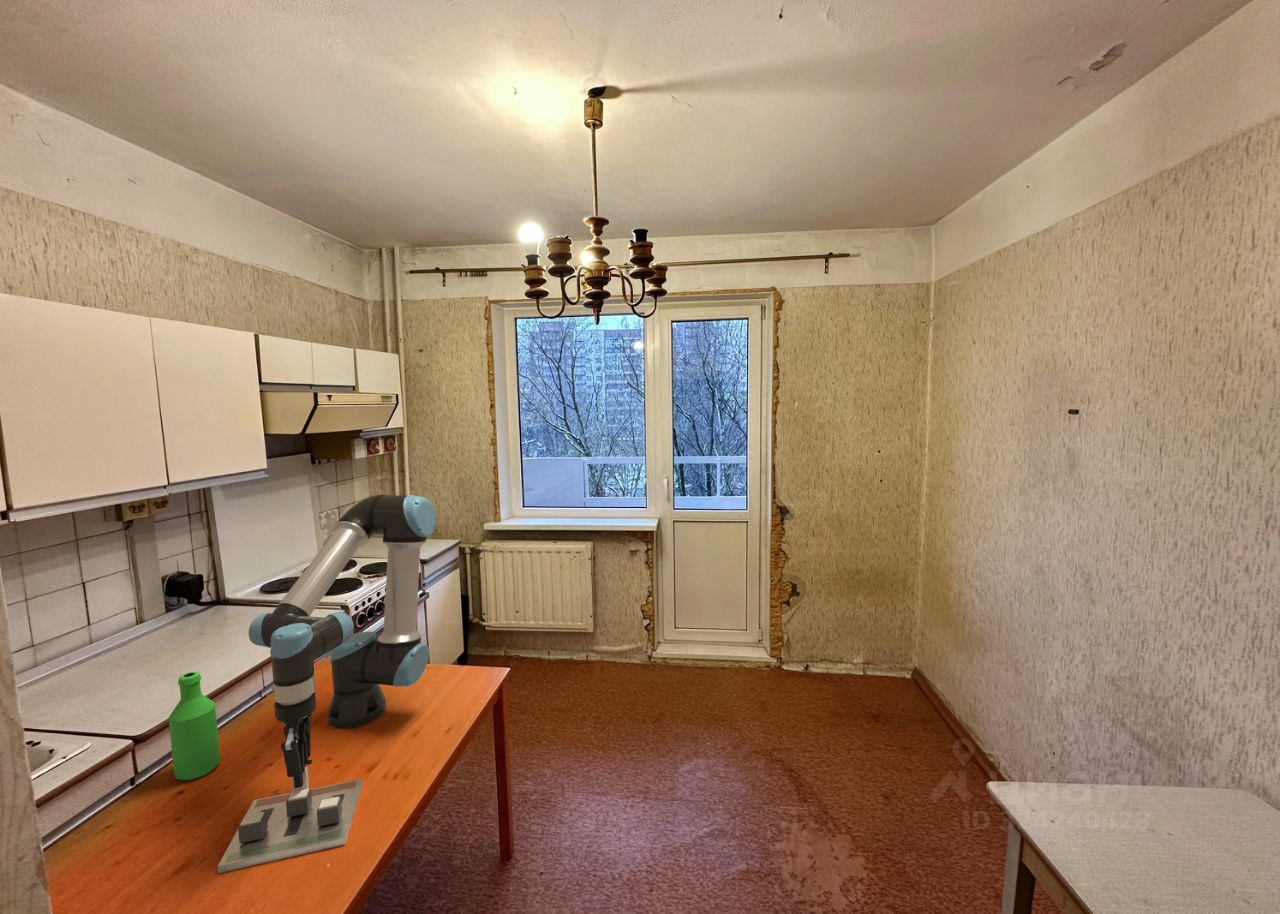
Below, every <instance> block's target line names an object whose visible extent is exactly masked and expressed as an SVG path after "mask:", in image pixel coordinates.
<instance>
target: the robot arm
mask: <svg viewBox="0 0 1280 914" xmlns="http://www.w3.org/2000/svg"><path fill="white" fill-rule="evenodd" d="M436 519H437V518H436V512H435V508H434V506H433V504H432V502H431V501H430V500H429V499H428V498H426V497H423V496H421V495H412V494H410V495H405V494H404V495H399V494H396V495H395V494H392V495H390V494H373V495H371V496H368V497H365V498H364V499H362V500H360V501H359V502H356V503H355V504H354V505H353V506H351V507H350V508H349V509H348V510H347V511H345V513H344V514H342V516H341V517H340V518H339V519H338V521H337V522H336V523H335V525H334V527H333V529H334V530H333V531H334V532H333V533H332V535H331V536H330V537H329V538H328V540H327V541H326V542H325V543H324V545H323V546H322V548H321V549H320V550H319V551H318V553H317V554H316V556H314V558H313V559H312V560H311V562H310V563H309V564H308V566H307V567H306V568H305V570H304V571H303V572H302V573H301V575H300V576H299V577H298V579H297V580H296V581H295V583H294V584H293V585H292V586H291V587H290V589H289V590H288V591H287V593H286V594H285V596H284V597H283V598H282V599H281V601H280V602H279V603H278V605H277V606H276V607H275V609H274V610H273V611H272V612H267V613H261V614H259V615H258V616H256V617H255V618H253V620H252V621H251V623H250V625H249V627H248V638H249V640H250V642H251V643H252V644H254V645H255V646H260V647H264V648H268V649H269V648H270V651H269V653H270V658H271V669H272V670H271V671H272V683H273V684H272V685H271V687H270V689H271V690H273V695H274V696H273V697H274V701H275V702H274V714H275V715H274V717H275V719H276V721H278V722H281V723H284V724H285V726H284V727H283V734H284V736H285V742H284V741H283V742H281V744H280V749H281V751H282V753H283V759H284V763H285V764H284V765H285V770H286V776H287V778H291V779H292V780H291V783H292V785H291V786H292V791H298V790H303V789H308V788H309V789H310V784H309V783H310V782H309V780H310V779H309V767H308V765H312V763H313V759H309V758H310V757H311V739H312V737H311V736H312V733H311V731H312V727H311V726H312V715H313V713H314V712H315V710H316V709H317V699H316V697H317V696H316V692H315V691H316V680H315V663H314V662H315V661H316V660H318V659H320V657H322V656H324V655H326V654H328V653H329V652H331V656H330V662H331V663H330V665H331V677H332V686H333V687H332V688H333V689H332V690H333V691H332V692H333V694H332V697H331V700H330V703H329V707H328V711H327V721H328V724H329V725H330V726H331V727H333V728H338V729H349V728H350V729H351V728H355V727H360V726H363V725H366V724H369V723H371V722H372V721H374V720H376V719H378V718H379V717H381V715H383V714H384V713H385V711H386V710H387V709H386V708H387V699H386V696H385V694H384V692H383V690H382V687H381V685H382V686H392V687H395V688H396V687H397V688H398V687H410V686H413V685H414V684H416V683H417V682H418V681H419V680H420V679H421V677H422V675H423V674H424V672H425V671H426V668H427V665H428V662H429V658H430V657H429V655H430V650H429V647H428V645H427V644H425V643H423V642H422V634H421V633H420V632H419V631H418V630H417V618H418V617H417V616H418V614H417V612H418V597H419V596H418V595H419V579H420V559H421V547H422V546H423V545H424V544H426V542H427V537H429V536H430V535H431V534H433V532H434V528H435V527H436V523H437V521H436ZM375 535H382V544H384V545H385V546H386V547H387V564H386V578H385V579H386V581H385V596H384V599H385V600H384V614H383V615H384V617H383V618H384V619H383V631H382V633H381V634H380V635H378V637H377V635H376V633H375V632H374V631H369V630H368V631H362V632H361V631H360V632H356V633H354V626H355V625H354V620H353V619H352V618H351V617H350V616H349V614H347V613H345V612H342V611H335V612H333V613H329V614H327V615H326V616H322V617H321V616H320V617H319V616H311V614H312V613H313V612H314V610H315V609H317V606H318V605H319V603H320V602H321V601H322V599H324V596H325V595H326V594H327V592H328V591H329V589H330V588H331V587H332V585H333V584H334V583H335V581H336V579H337V578H338V576H339V575H340V574H341V572H342V571H343V569H344V568H345V567H346V565H347V564H348V562H349V561H350V560H351V559H352V556H353V555H354V554H355V553H356V551H357V550H358V548H360V546H362V545H365V544H366V543H367V542H368V541H369V539H370V538H371V537H373V536H375Z"/></svg>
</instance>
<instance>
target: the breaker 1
mask: <svg viewBox="0 0 1280 914" xmlns="http://www.w3.org/2000/svg"><path fill="white" fill-rule="evenodd" d="M267 828H268V824H267V812H260V813H255V814H250V815H246V814H245V815H244V816H243V818H242V820H241V821H240V824H239V825H238V827H237V830H238V833H239V843H244V842H248V841H253V840H258V839H262V838H263V836H264V834H265V832H266V830H267Z"/></svg>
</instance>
